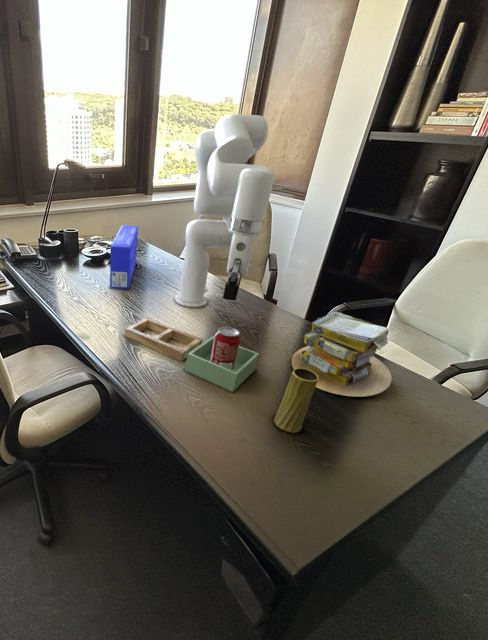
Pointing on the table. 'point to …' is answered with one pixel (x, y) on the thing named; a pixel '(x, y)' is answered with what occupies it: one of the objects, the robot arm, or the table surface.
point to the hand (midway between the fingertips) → (231, 292)
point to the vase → (296, 400)
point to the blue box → (123, 257)
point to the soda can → (225, 347)
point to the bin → (217, 374)
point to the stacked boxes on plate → (345, 356)
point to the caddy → (163, 338)
